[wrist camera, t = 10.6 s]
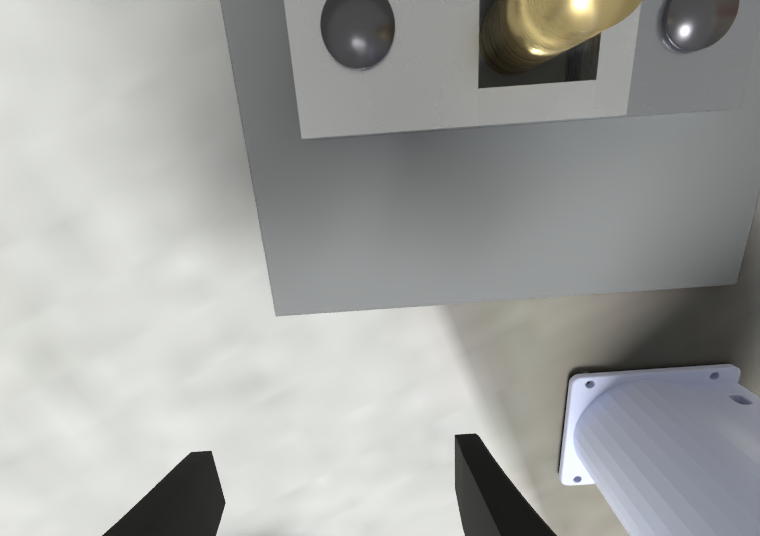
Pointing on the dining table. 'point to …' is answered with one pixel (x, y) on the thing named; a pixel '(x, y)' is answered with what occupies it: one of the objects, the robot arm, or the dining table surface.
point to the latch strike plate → (511, 103)
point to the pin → (543, 29)
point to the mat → (488, 195)
